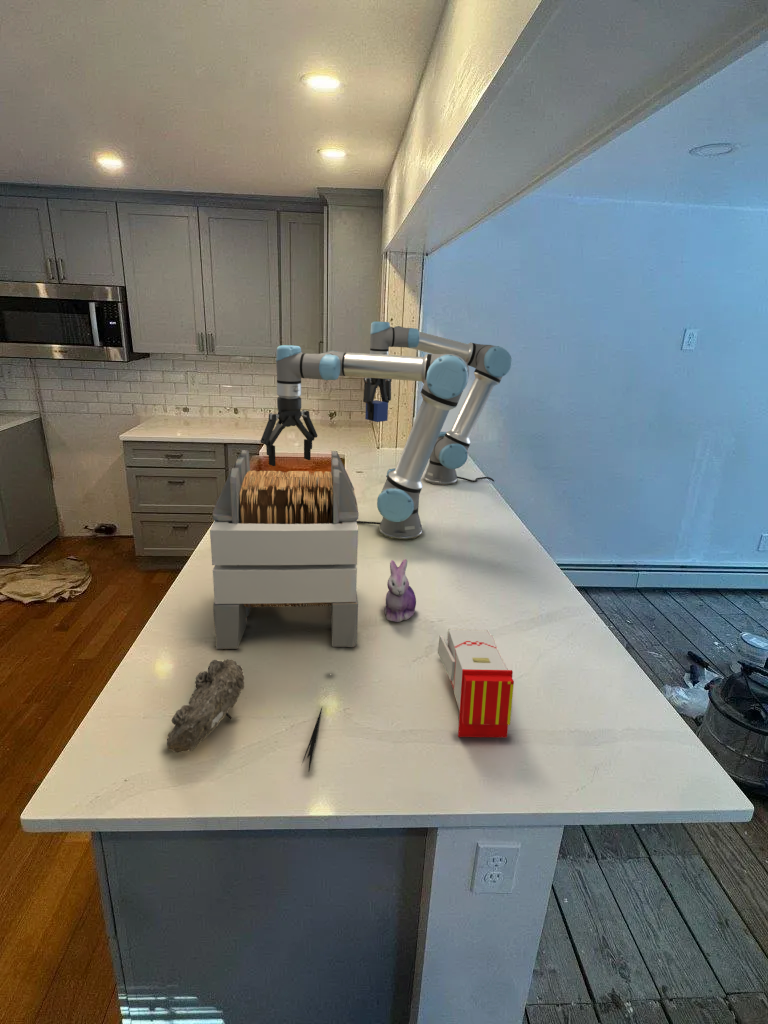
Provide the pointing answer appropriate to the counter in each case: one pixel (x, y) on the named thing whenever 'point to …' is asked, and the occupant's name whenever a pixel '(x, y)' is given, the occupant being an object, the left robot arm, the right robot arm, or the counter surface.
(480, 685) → the toy
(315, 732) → the feather
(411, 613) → the figurine
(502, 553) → the counter surface
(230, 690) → the fossil
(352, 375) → the left robot arm
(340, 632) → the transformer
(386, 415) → the block
